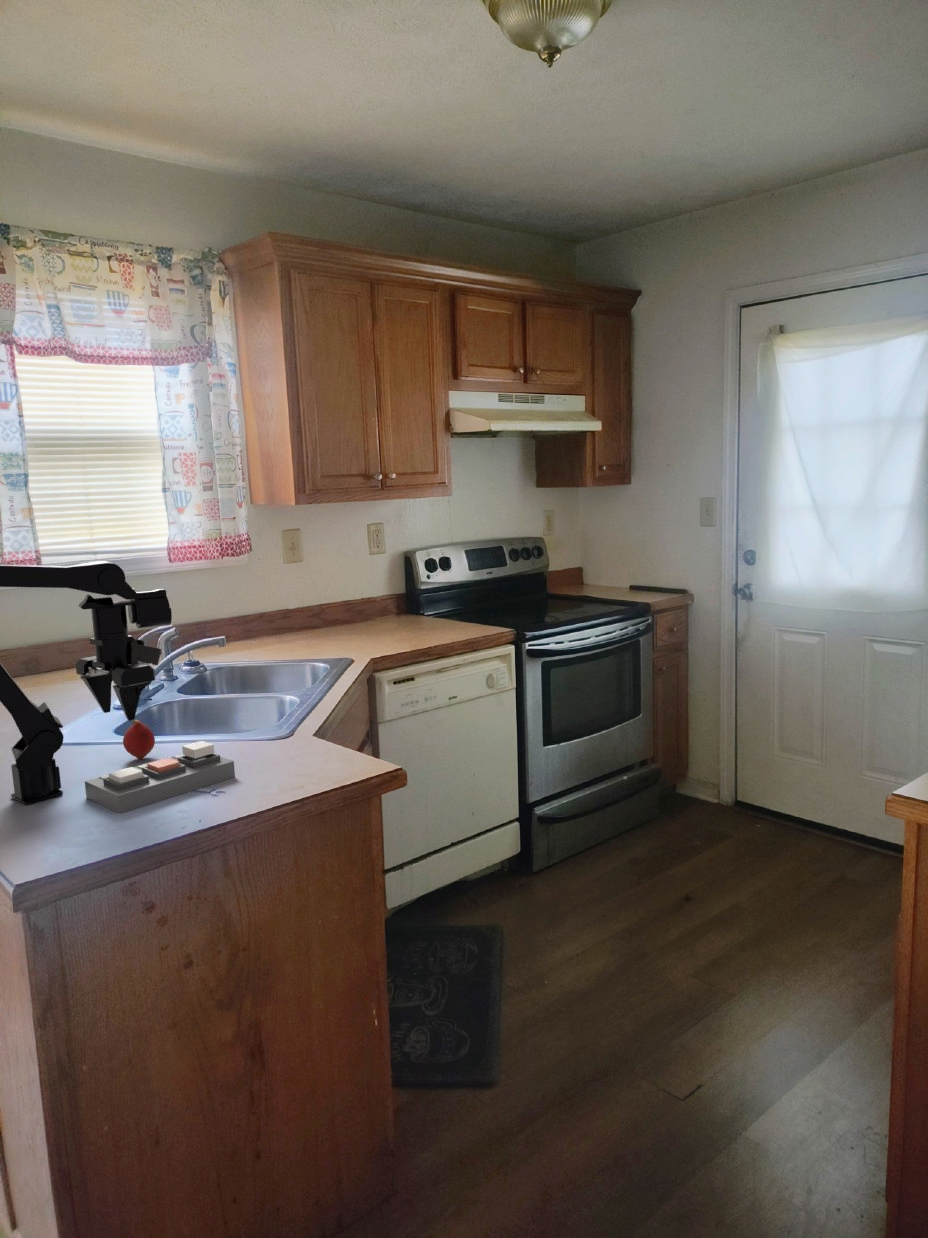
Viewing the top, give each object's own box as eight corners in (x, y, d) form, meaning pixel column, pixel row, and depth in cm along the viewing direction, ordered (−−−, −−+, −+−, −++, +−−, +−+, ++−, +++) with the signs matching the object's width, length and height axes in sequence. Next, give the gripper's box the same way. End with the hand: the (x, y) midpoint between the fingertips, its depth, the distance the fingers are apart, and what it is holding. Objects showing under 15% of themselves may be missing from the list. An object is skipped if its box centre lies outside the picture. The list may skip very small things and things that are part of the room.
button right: (194, 758, 154) (194, 750, 154) (182, 754, 157) (182, 746, 156) (214, 753, 157) (213, 744, 157) (202, 749, 160) (201, 740, 159)
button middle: (159, 776, 149) (158, 767, 149) (147, 772, 152) (146, 763, 152) (180, 770, 152) (179, 761, 152) (168, 766, 155) (167, 757, 154)
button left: (120, 787, 144) (119, 777, 144) (109, 782, 147) (108, 773, 146) (143, 780, 147) (142, 771, 147) (131, 775, 150) (130, 767, 149)
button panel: (120, 813, 141) (117, 790, 140) (86, 797, 149) (84, 775, 148) (235, 776, 157) (233, 755, 157) (199, 764, 165) (197, 744, 164)
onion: (146, 752, 174) (142, 714, 173) (162, 757, 170) (158, 718, 169) (119, 760, 170) (115, 721, 168) (135, 765, 166) (131, 725, 165)
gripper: (179, 629, 154) (186, 714, 156) (128, 621, 166) (135, 700, 168) (119, 639, 145) (127, 728, 148) (70, 629, 158) (79, 712, 160)
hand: (118, 716), depth 156 cm, fingers open, 9 cm apart
